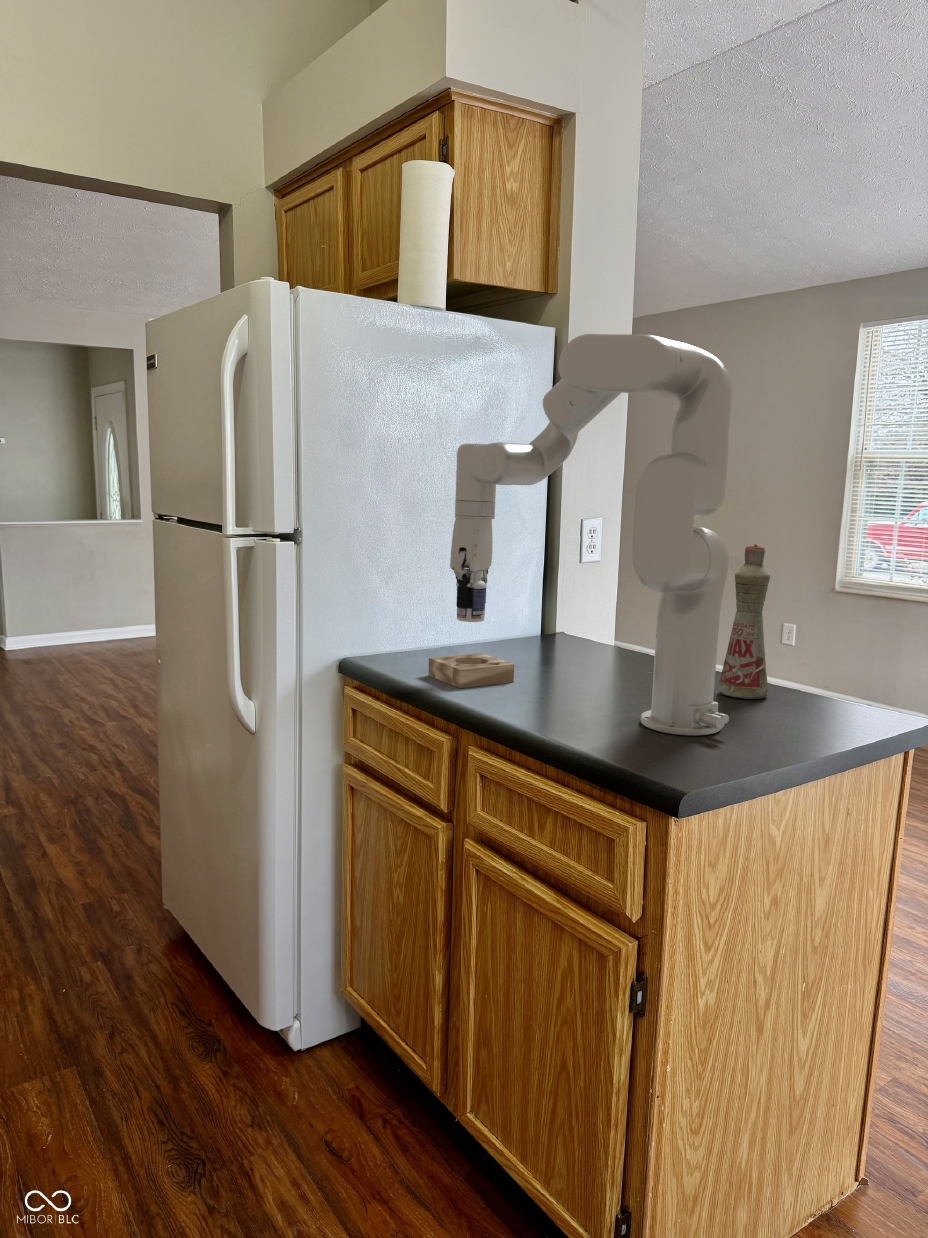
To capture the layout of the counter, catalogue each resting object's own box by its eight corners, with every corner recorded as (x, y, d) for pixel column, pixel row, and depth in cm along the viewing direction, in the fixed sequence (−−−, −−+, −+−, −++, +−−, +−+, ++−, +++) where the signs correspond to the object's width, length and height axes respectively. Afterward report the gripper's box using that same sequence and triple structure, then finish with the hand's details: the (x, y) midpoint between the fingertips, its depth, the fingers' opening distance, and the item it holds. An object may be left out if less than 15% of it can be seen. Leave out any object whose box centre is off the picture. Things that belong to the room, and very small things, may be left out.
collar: (513, 682, 168) (514, 664, 168) (459, 688, 162) (460, 669, 162) (480, 669, 179) (480, 652, 178) (428, 675, 172) (428, 657, 172)
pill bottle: (485, 618, 171) (487, 569, 170) (483, 623, 166) (485, 571, 164) (457, 617, 172) (459, 567, 170) (454, 621, 167) (456, 570, 165)
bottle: (779, 697, 162) (792, 545, 157) (745, 703, 157) (757, 546, 152) (741, 687, 169) (753, 541, 164) (708, 692, 164) (719, 542, 160)
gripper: (474, 508, 175) (470, 598, 178) (437, 510, 159) (434, 609, 162) (509, 510, 172) (505, 602, 175) (475, 512, 156) (471, 613, 159)
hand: (471, 604), depth 168 cm, fingers closed on pill bottle, 5 cm apart
